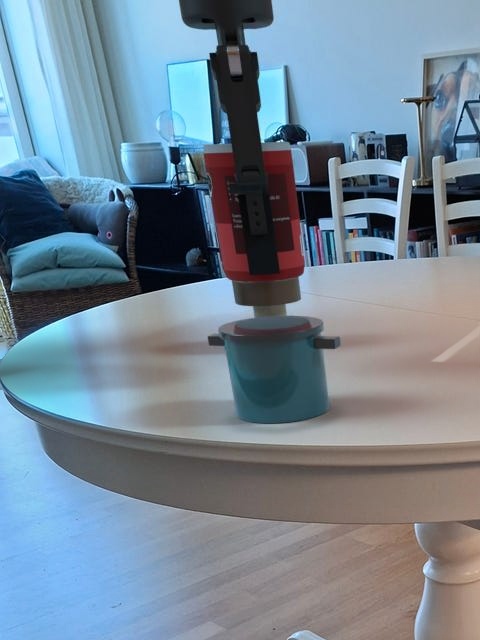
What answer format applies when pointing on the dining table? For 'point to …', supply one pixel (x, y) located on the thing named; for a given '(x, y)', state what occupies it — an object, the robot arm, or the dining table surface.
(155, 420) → the dining table surface
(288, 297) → the wooden mushroom
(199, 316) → the dining table surface
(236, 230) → the canned food
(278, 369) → the enamel pot
